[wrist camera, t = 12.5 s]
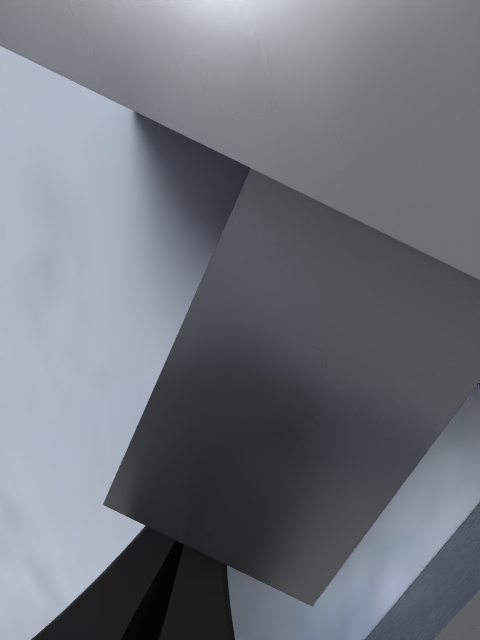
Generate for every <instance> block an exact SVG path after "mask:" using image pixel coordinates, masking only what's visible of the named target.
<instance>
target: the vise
mask: <svg viewBox="0 0 480 640" xmlns="http://www.w3.org/2000/svg"><path fill="white" fill-rule="evenodd" d="M366 640H480V504H479V505H478V506H477V507H476V509H475V510H474V511H473V512H472V513H471V515H470V516H469V517H468V518H467V519H466V521H465V522H464V523H463V524H462V525H461V527H460V528H459V529H458V530H457V531H456V532H455V534H454V535H453V536H452V537H451V538H450V540H449V541H448V542H447V543H446V544H445V546H444V547H443V548H442V549H441V550H440V552H439V553H438V554H437V555H436V556H435V558H434V559H433V560H432V561H431V562H430V563H429V565H428V566H427V567H426V568H425V569H424V571H423V572H422V573H421V574H420V575H419V577H418V578H417V579H416V580H415V581H414V583H413V584H412V585H411V586H410V587H409V589H408V590H407V591H406V592H405V593H404V595H403V596H402V597H401V598H400V599H399V600H398V602H397V603H396V604H395V605H394V606H393V608H392V609H391V610H390V611H389V612H388V614H387V615H386V616H385V617H384V618H383V620H382V621H381V622H380V623H379V624H378V626H377V627H376V628H375V629H374V630H373V632H372V633H371V634H370V635H369V636H368V637H367V639H366Z"/></svg>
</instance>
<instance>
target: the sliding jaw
mask: <svg viewBox="0 0 480 640" xmlns="http://www.w3.org/2000/svg"><path fill="white" fill-rule="evenodd" d="M0 46H2V47H4V48H6V49H8V50H10V51H12V52H14V53H16V54H18V55H21V56H23V57H25V58H27V59H29V60H31V61H33V62H35V63H37V64H39V65H41V66H43V67H45V68H47V69H49V70H51V71H53V72H55V73H57V74H59V75H61V76H64V77H66V78H68V79H70V80H72V81H74V82H76V83H78V84H80V85H82V86H84V87H86V88H88V89H90V90H92V91H94V92H96V93H98V94H100V95H102V96H104V97H106V98H109V99H111V100H113V101H115V102H117V103H119V104H121V105H123V106H125V107H127V108H129V109H131V110H133V111H135V112H137V113H139V114H141V115H143V116H145V117H147V118H149V119H151V120H154V121H156V122H158V123H160V124H162V125H164V126H166V127H168V128H170V129H172V130H174V131H176V132H178V133H180V134H182V135H184V136H186V137H188V138H190V139H192V140H194V141H196V142H199V143H201V144H203V145H205V146H207V147H209V148H211V149H213V150H215V151H217V152H219V153H221V154H223V155H225V156H227V157H229V158H231V159H233V160H235V161H237V162H239V163H241V164H244V165H246V166H248V167H250V168H251V169H250V171H249V173H248V176H247V178H246V180H245V182H244V185H243V187H242V189H241V192H240V194H239V196H238V198H237V201H236V203H235V205H234V207H233V210H232V212H231V214H230V217H229V219H228V221H227V223H226V226H225V228H224V230H223V232H222V235H221V237H220V239H219V242H218V244H217V246H216V248H215V251H214V253H213V255H212V258H211V260H210V262H209V264H208V267H207V269H206V271H205V273H204V276H203V278H202V280H201V283H200V285H199V287H198V289H197V292H196V294H195V296H194V299H193V301H192V303H191V305H190V308H189V310H188V312H187V314H186V317H185V319H184V321H183V324H182V326H181V328H180V330H179V333H178V335H177V337H176V339H175V342H174V344H173V346H172V349H171V351H170V353H169V355H168V358H167V360H166V362H165V365H164V367H163V369H162V371H161V374H160V376H159V378H158V380H157V383H156V385H155V387H154V390H153V392H152V394H151V396H150V399H149V401H148V403H147V406H146V408H145V410H144V412H143V415H142V417H141V419H140V421H139V424H138V426H137V428H136V431H135V433H134V435H133V437H132V440H131V442H130V444H129V447H128V449H127V451H126V453H125V456H124V458H123V460H122V462H121V465H120V467H119V469H118V472H117V474H116V476H115V478H114V481H113V483H112V485H111V487H110V490H109V492H108V494H107V497H106V499H105V501H104V503H103V505H105V506H107V507H109V508H111V509H113V510H115V511H117V512H119V513H121V514H123V515H125V516H127V517H129V518H131V519H133V520H135V521H137V522H140V523H142V524H144V525H146V526H148V527H150V528H152V529H154V530H156V531H158V532H160V533H162V534H164V535H166V536H168V537H170V538H172V539H175V540H177V541H179V542H181V543H183V544H185V545H187V546H189V547H191V548H193V549H195V550H197V551H199V552H201V553H203V554H205V555H208V556H210V557H212V558H214V559H216V560H218V561H220V562H222V563H224V564H226V565H228V566H230V567H232V568H234V569H236V570H238V571H240V572H243V573H245V574H247V575H249V576H251V577H253V578H255V579H257V580H259V581H261V582H263V583H265V584H267V585H269V586H271V587H273V588H276V589H278V590H280V591H282V592H284V593H286V594H288V595H290V596H292V597H294V598H296V599H298V600H300V601H302V602H304V603H306V604H308V605H311V606H313V605H314V603H315V602H316V601H317V599H318V598H319V597H320V595H321V594H322V593H323V591H324V590H325V589H326V587H327V586H328V584H329V583H330V582H331V580H332V579H333V578H334V576H335V575H336V574H337V572H338V571H339V570H340V568H341V567H342V566H343V564H344V563H345V562H346V560H347V559H348V557H349V556H350V555H351V553H352V552H353V551H354V549H355V548H356V547H357V545H358V544H359V543H360V541H361V540H362V539H363V537H364V536H365V535H366V533H367V532H368V531H369V529H370V528H371V526H372V525H373V524H374V522H375V521H376V520H377V518H378V517H379V516H380V514H381V513H382V512H383V510H384V509H385V508H386V506H387V505H388V504H389V502H390V501H391V499H392V498H393V497H394V495H395V494H396V493H397V491H398V490H399V489H400V487H401V486H402V485H403V483H404V482H405V481H406V479H407V478H408V477H409V475H410V474H411V473H412V471H413V470H414V468H415V467H416V466H417V464H418V463H419V462H420V460H421V459H422V458H423V456H424V455H425V454H426V452H427V451H428V450H429V448H430V447H431V446H432V444H433V443H434V441H435V440H436V439H437V437H438V436H439V435H440V433H441V432H442V431H443V429H444V428H445V427H446V425H447V424H448V423H449V421H450V420H451V419H452V417H453V416H454V415H455V413H456V412H457V410H458V409H459V408H460V406H461V405H462V404H463V402H464V401H465V400H466V398H467V397H468V396H469V394H470V393H471V392H472V390H473V389H474V388H475V386H476V385H477V383H478V382H479V381H480V0H0Z"/></svg>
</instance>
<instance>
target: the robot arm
mask: <svg viewBox="0 0 480 640" xmlns="http://www.w3.org/2000/svg"><path fill="white" fill-rule="evenodd" d="M31 640H235V636H234V630H233V623H232V616H231V608H230V599H229V588H228V578H227V565H226V564H224V563H222V562H220V561H218V560H216V559H214V558H212V557H210V556H208V555H205V554H203V553H201V552H199V551H197V550H195V549H193V548H191V547H189V546H187V545H185V544H183V543H181V542H179V541H177V540H175V539H172V538H170V537H168V536H166V535H164V534H162V533H160V532H158V531H156V530H154V529H152V528H150V527H148V526H145V527H144V528H143V529H142V531H141V532H140V533H139V534H138V535H137V536H136V537H135V538H134V540H133V541H132V542H131V543H130V544H129V545H128V546H127V547H126V548H125V550H124V551H123V552H122V553H121V554H120V555H119V556H118V557H117V558H116V559H115V560H114V561H113V562H112V563H111V564H110V565H109V567H108V568H107V569H106V570H105V571H104V572H103V573H102V574H101V575H100V576H99V577H98V578H97V579H96V580H95V581H94V582H93V583H92V584H91V585H90V586H89V587H88V588H87V589H86V590H85V591H84V592H83V593H82V594H81V595H79V596H78V597H77V598H76V599H75V600H74V601H73V602H72V603H71V604H70V605H69V606H68V607H67V608H66V609H65V610H64V611H63V612H62V613H61V614H60V615H58V616H57V617H56V618H55V619H54V620H53V621H52V622H51V623H50V624H49V625H47V626H46V627H45V628H44V629H43V630H42V631H41V632H39V633H38V634H37V635H36V636H35V637H34V638H33V639H31Z"/></svg>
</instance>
